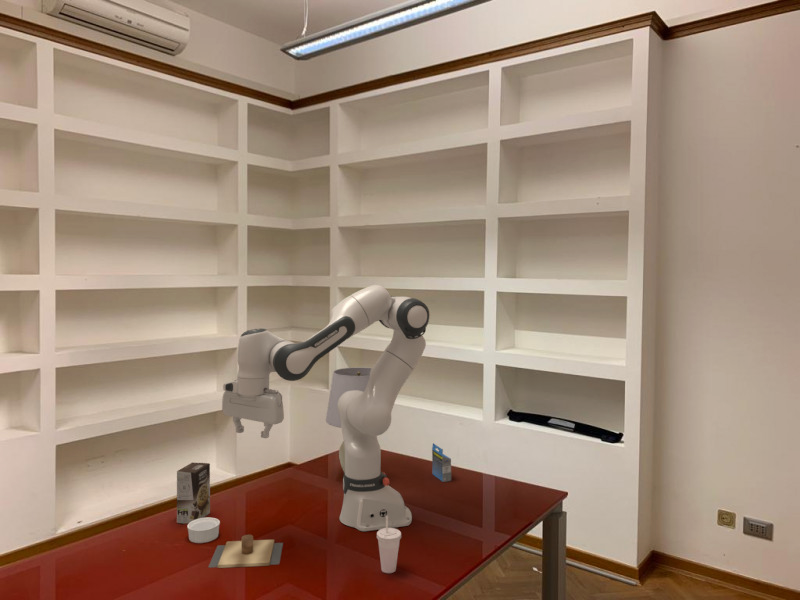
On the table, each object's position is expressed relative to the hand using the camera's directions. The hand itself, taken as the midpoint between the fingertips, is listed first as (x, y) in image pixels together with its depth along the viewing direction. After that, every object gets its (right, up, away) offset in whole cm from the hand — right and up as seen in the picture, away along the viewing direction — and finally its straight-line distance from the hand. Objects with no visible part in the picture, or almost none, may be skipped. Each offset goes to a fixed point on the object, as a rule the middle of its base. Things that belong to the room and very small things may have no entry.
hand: (252, 435), depth 165 cm
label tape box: (+57, -29, +53) cm, 83 cm away
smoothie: (+39, -32, -14) cm, 52 cm away
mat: (+1, -31, -8) cm, 32 cm away
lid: (+1, -31, -8) cm, 31 cm away
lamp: (+26, -28, +52) cm, 64 cm away
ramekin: (-15, -31, +3) cm, 34 cm away
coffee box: (-22, -30, +16) cm, 40 cm away
